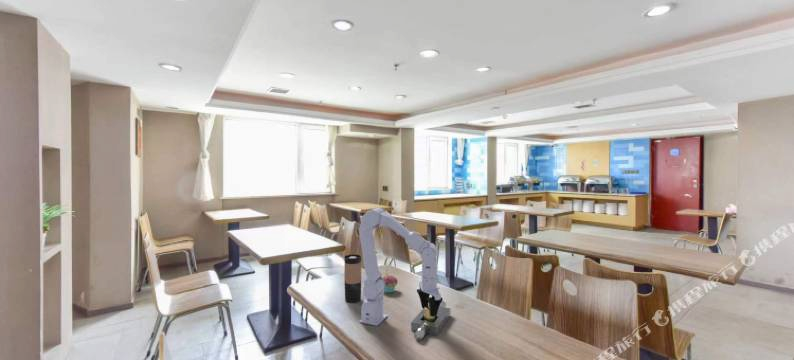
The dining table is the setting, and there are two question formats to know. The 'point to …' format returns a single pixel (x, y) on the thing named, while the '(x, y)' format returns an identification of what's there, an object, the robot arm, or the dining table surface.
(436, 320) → the junction block
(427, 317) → the cylinder
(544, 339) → the dining table surface
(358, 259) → the travel mug
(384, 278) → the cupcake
